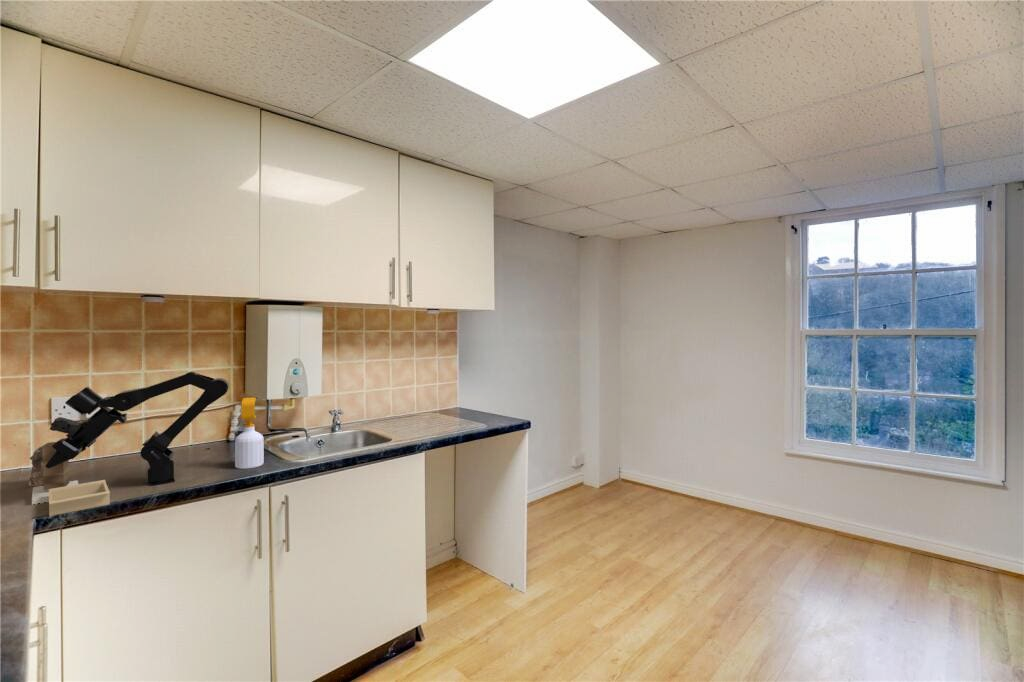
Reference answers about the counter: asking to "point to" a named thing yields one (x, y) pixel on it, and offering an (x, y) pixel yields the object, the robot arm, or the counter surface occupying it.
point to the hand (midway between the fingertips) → (49, 465)
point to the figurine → (36, 468)
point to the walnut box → (54, 469)
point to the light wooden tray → (78, 497)
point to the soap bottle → (249, 440)
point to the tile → (44, 493)
